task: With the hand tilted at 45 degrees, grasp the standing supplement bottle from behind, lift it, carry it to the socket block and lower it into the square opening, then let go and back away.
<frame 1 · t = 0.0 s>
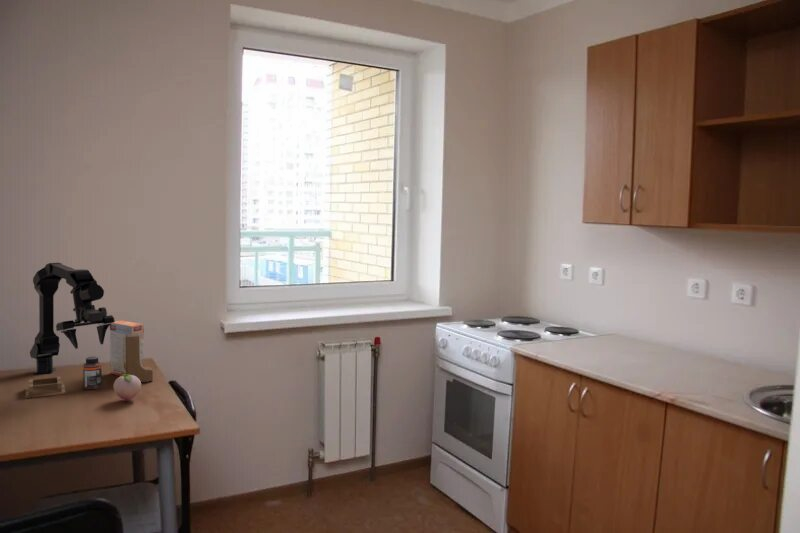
hand: (89, 346, 221), 15 cm above the table, tool pointing down, fingers open, 9 cm apart
socket: (45, 391, 218), on the table
decorative fruit: (128, 401, 210), on the table
supplement bottle: (92, 388, 224), on the table
cracker box: (127, 375, 241), on the table
wooden block: (139, 381, 233), on the table
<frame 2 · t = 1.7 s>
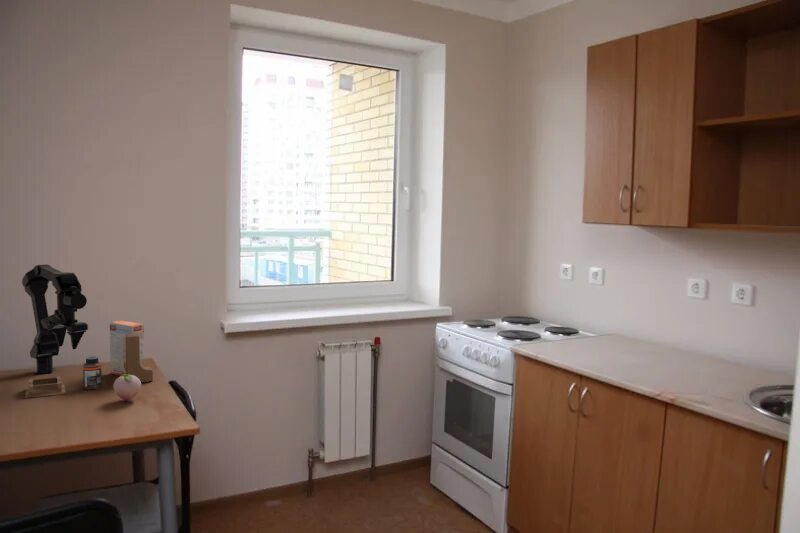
hand: (67, 347, 230), 13 cm above the table, tool pointing down, fingers open, 9 cm apart
nothing on the table moved.
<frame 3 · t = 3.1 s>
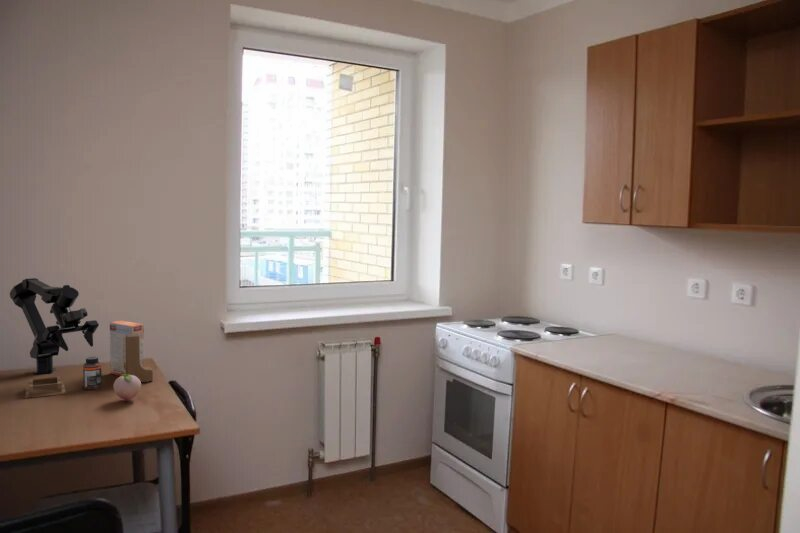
hand: (80, 348, 227), 13 cm above the table, tool tilted 45°, fingers open, 9 cm apart
nothing on the table moved.
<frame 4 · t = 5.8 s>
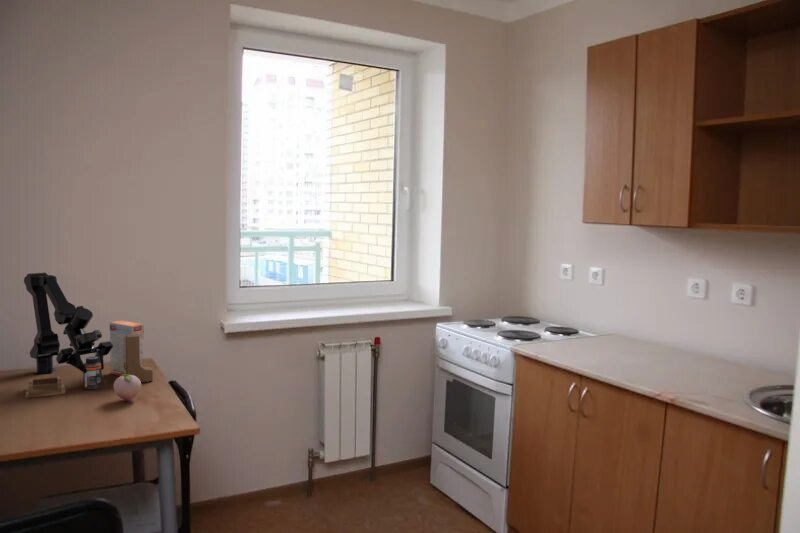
hand: (94, 370, 222), 7 cm above the table, tool tilted 45°, fingers closed on supplement bottle, 6 cm apart
supplement bottle: (92, 388, 224), on the table, touching gripper
everything else where it was.
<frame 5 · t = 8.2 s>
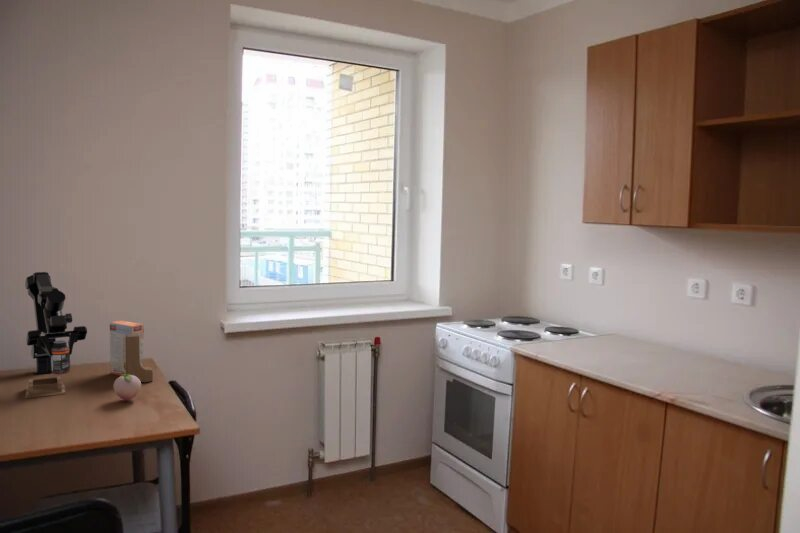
hand: (61, 355, 217), 13 cm above the table, tool tilted 45°, fingers closed on supplement bottle, 6 cm apart
supplement bottle: (61, 373, 219), point 6 cm above the table, touching gripper
everything else where it was.
when the fingers open (8 cm above the table, at t = 10.4 s): supplement bottle drops 1 cm, resting on socket.
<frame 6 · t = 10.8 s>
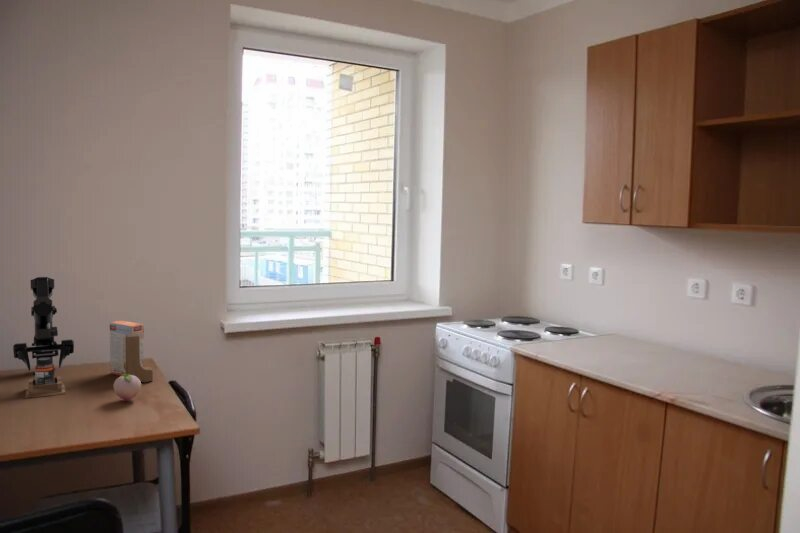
hand: (44, 368, 216), 9 cm above the table, tool tilted 45°, fingers open, 9 cm apart
supplement bottle: (45, 390, 218), resting on socket
everything else where it was.
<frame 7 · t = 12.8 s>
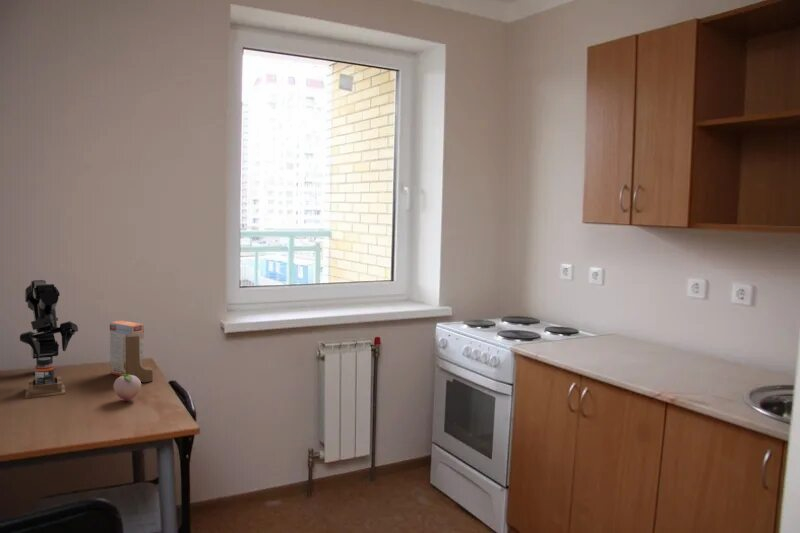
hand: (51, 354, 227), 11 cm above the table, tool tilted 30°, fingers open, 9 cm apart
nothing on the table moved.
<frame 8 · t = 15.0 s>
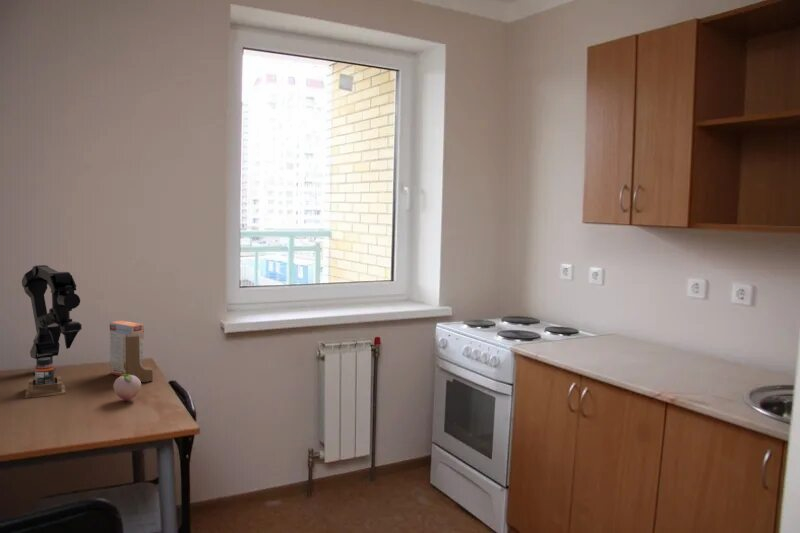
hand: (61, 346, 231), 13 cm above the table, tool pointing down, fingers open, 9 cm apart
nothing on the table moved.
at the end: supplement bottle 0.2 cm from the socket (horizontally); supplement bottle resting on socket; supplement bottle tilted 0° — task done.
